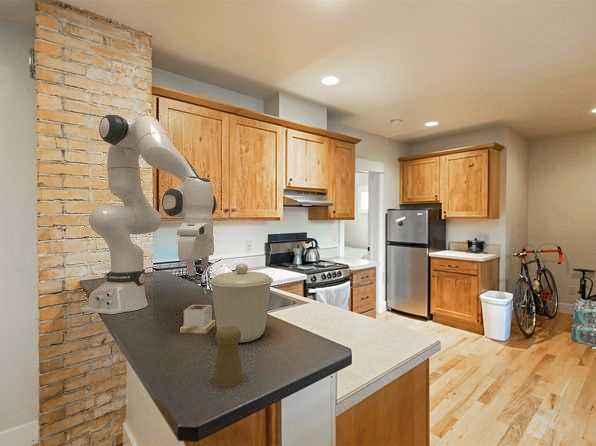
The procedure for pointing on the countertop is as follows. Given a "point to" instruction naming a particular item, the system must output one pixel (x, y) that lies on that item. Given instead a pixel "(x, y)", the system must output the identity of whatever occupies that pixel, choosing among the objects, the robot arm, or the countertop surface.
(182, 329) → the base plate
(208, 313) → the white hollow square block
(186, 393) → the countertop surface
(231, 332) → the olive pepper mill
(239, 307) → the canister
